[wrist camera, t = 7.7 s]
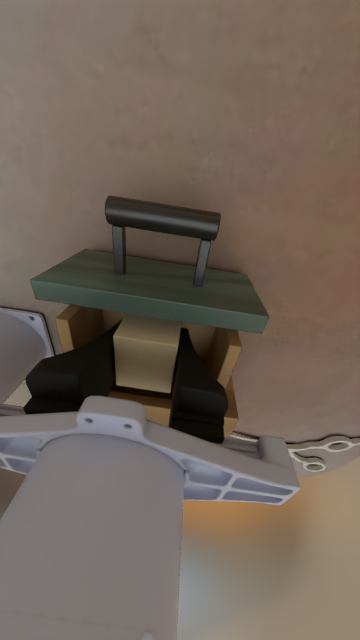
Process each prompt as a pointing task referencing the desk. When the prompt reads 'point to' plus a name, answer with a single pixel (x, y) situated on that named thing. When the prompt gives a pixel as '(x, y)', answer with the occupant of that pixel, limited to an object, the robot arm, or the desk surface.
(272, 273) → the desk surface
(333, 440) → the scissors
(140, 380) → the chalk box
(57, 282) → the drawer
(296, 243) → the desk surface
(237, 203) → the desk surface
